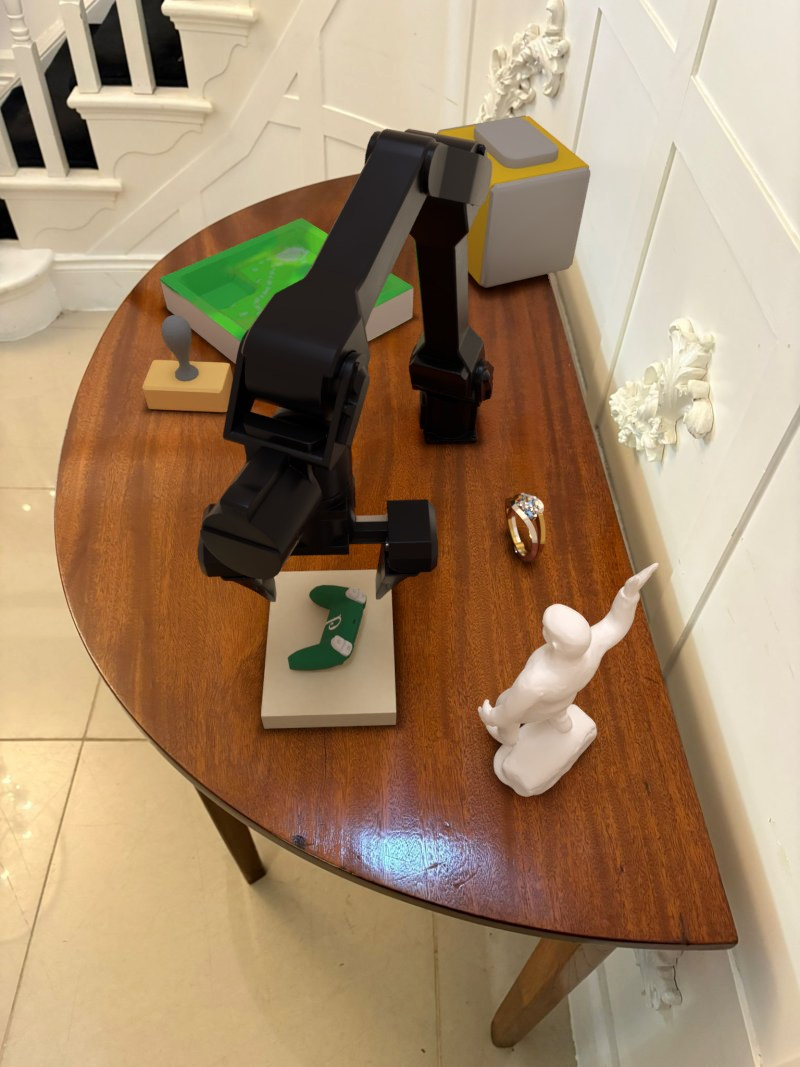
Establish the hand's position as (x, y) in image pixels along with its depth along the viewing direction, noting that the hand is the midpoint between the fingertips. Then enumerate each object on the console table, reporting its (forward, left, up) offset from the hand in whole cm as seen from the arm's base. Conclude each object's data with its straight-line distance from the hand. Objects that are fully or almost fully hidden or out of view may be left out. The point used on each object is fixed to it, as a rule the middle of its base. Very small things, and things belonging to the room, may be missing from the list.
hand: (326, 596), depth 69 cm
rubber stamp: (+18, -38, -9) cm, 43 cm away
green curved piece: (0, 0, -7) cm, 7 cm away
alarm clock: (-25, -71, -9) cm, 75 cm away
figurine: (-18, +11, -9) cm, 23 cm away
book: (0, 0, -9) cm, 9 cm away
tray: (+7, -56, -9) cm, 57 cm away
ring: (-20, -12, -9) cm, 25 cm away
